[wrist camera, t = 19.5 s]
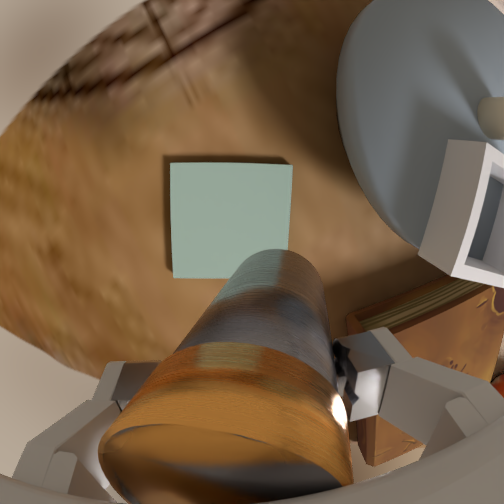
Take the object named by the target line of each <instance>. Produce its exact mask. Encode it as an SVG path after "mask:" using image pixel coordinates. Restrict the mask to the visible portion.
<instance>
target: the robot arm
mask: <svg viewBox="0 0 504 504" xmlns="http://www.w3.org/2000/svg"><path fill="white" fill-rule="evenodd" d="M333 353H334V355H335V357H336V358H335V359H334V360H335V368H336V375H337V383H338V391H339V396H341V397H343V400H342V402H343V404H344V407H345V411H346V415H347V417H348V419H349V421H350V422H351V421H355V420H359V419H363V418H367V417H371V416H374V415H378V414H379V416H380V417H381V418H383V419H385V420H386V421H388V422H389V423H391V424H392V425H394V426H396V427H397V428H399V429H400V430H402V431H404V432H405V433H407V434H408V435H410V436H412V437H413V438H415V439H417V440H418V441H420V442H422V443H423V444H425V445H427V446H426V447H425V449H424V451H423V453H422V455H421V457H420V459H419V460H418V461H416V462H414V463H411V464H409V465H406V466H404V467H401V468H399V469H396V470H394V471H391V472H388V473H385V474H382V475H380V476H376V477H373V478H370V479H367V480H364V481H361V482H358V483H354V484H351V485H347V486H343V487H340V488H336V489H332V490H328V491H324V492H319V493H315V494H310V495H305V496H300V497H295V498H289V499H283V500H277V501H270V502H263V503H254V504H504V398H503V397H502V396H501V395H500V393H499V392H498V391H497V390H496V389H495V388H494V387H493V386H492V385H491V384H490V383H489V382H488V381H486V380H483V379H480V378H477V377H474V376H471V375H468V374H465V373H462V372H459V371H456V370H453V369H450V368H447V367H445V366H442V365H439V364H436V363H433V362H430V361H428V360H425V359H422V358H419V357H415V358H412V356H411V355H410V354H409V353H408V352H407V351H406V349H405V348H404V347H403V346H402V345H401V344H400V342H399V341H398V340H397V339H396V338H395V337H394V335H393V334H392V333H391V332H390V331H389V330H388V329H387V328H386V327H381V328H377V329H373V330H369V331H367V332H363V333H358V334H354V335H349V336H344V337H339V338H334V341H333ZM161 362H162V361H161V360H151V361H111V362H109V363H107V365H106V367H105V370H104V372H103V374H102V377H101V379H100V381H99V384H98V386H97V389H96V391H95V393H94V396H93V398H92V400H86V401H85V402H83V403H82V404H81V405H79V406H78V407H77V408H75V409H74V410H73V411H71V412H70V413H68V414H67V415H66V416H65V417H63V418H61V419H60V420H59V421H57V422H56V423H54V424H53V425H52V426H50V427H49V428H48V429H46V430H45V431H43V432H42V433H41V434H39V435H38V436H36V437H35V438H33V439H32V440H31V441H29V442H28V443H27V444H26V447H25V449H24V451H23V453H22V455H21V458H20V460H19V462H18V465H17V467H16V469H15V471H14V474H13V476H12V478H10V477H8V476H5V475H2V474H0V504H123V503H117V502H116V501H115V500H114V499H113V498H112V497H111V496H110V495H109V494H108V492H107V491H106V490H105V489H106V488H107V487H108V486H109V485H110V483H109V481H108V480H107V479H106V477H105V475H104V473H103V471H102V469H101V466H100V463H99V460H98V444H99V442H100V440H101V437H102V436H103V435H104V433H105V432H106V431H107V430H108V428H109V427H110V426H111V425H112V423H113V422H114V421H115V419H116V418H117V417H118V416H119V414H120V413H121V412H122V410H123V409H124V408H125V407H126V405H127V404H128V403H129V402H130V400H131V399H132V398H133V396H134V395H135V394H136V393H137V391H138V390H139V389H140V387H141V386H142V385H143V384H144V382H145V381H146V380H147V379H148V377H149V376H150V375H151V373H152V372H153V371H154V370H155V369H156V367H157V366H158V365H159V364H160V363H161Z"/></svg>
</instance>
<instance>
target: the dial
mask: <svg viewBox="0 0 504 504" xmlns="http://www.w3.org/2000/svg"><path fill="white" fill-rule="evenodd" d="M336 99H337V108H338V118H339V124H340V128H341V133H342V138H343V143H344V146H345V149H346V152H347V155H348V158H349V161H350V165H351V167H352V169H353V171H354V174H355V176H356V178H357V181H358V183H359V185H360V187H361V189H362V190H363V192H364V194H365V196H366V197H367V199H368V201H369V203H370V204H371V205H372V207H373V208H374V209H375V211H376V212H377V214H378V215H379V216H380V218H381V219H382V220H383V221H384V222H385V223H386V224H387V225H388V226H389V227H390V228H391V230H392V231H393V232H395V233H396V234H397V235H399V236H400V237H401V238H402V239H403V240H405V241H406V242H408V243H410V244H411V245H413V246H415V247H416V248H418V249H419V252H418V255H419V256H420V257H422V258H423V259H425V260H427V261H428V262H430V263H431V264H433V265H434V266H436V267H437V268H439V269H440V270H442V271H444V272H445V273H447V274H448V275H450V276H452V277H457V278H461V279H466V280H470V281H475V282H479V283H483V284H488V285H492V286H497V287H501V288H504V15H503V14H502V13H501V12H500V11H499V10H498V9H497V8H496V7H495V6H494V5H493V4H492V3H491V2H489V1H488V0H373V1H372V2H371V3H369V4H368V5H367V6H366V7H365V8H364V9H363V10H362V11H361V12H360V13H359V14H358V16H357V17H356V19H355V20H354V21H353V23H352V24H351V26H350V28H349V30H348V33H347V35H346V37H345V39H344V42H343V46H342V49H341V53H340V56H339V62H338V70H337V87H336Z"/></svg>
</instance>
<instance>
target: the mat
mask: <svg viewBox="0 0 504 504" xmlns="http://www.w3.org/2000/svg"><path fill="white" fill-rule="evenodd" d="M292 171H293V165H287V164H266V163H233V162H175V163H170V207H171V241H172V263H173V278H231V276H232V275H233V274H234V272H235V271H236V270H237V268H238V267H239V266H240V265H241V263H242V262H243V261H245V260H246V259H247V258H248V257H250V256H251V255H253V254H255V253H257V252H260V251H263V250H268V249H284V250H287V249H288V235H289V221H290V205H291V189H292Z"/></svg>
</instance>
